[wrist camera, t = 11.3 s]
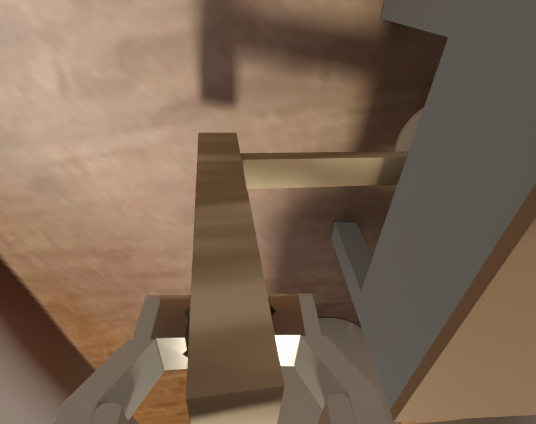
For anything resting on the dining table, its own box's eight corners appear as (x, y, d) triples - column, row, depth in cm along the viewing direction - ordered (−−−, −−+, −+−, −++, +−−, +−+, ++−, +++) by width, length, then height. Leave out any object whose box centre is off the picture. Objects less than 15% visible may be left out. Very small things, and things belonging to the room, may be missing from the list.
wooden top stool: (389, -22, 18) (704, -25, 6) (607, -7, 20) (1254, 18, 7) (330, 238, 30) (393, 422, 18) (468, 238, 31) (620, 410, 19)
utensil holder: (352, 297, 36) (424, 503, 22) (386, 355, 44) (453, 533, 30) (239, 338, 39) (238, 539, 25) (290, 385, 47) (310, 557, 33)
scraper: (194, 78, 18) (168, 313, 6) (465, 85, 21) (855, 251, 8) (203, 205, 24) (200, 474, 11) (418, 197, 26) (614, 402, 14)
